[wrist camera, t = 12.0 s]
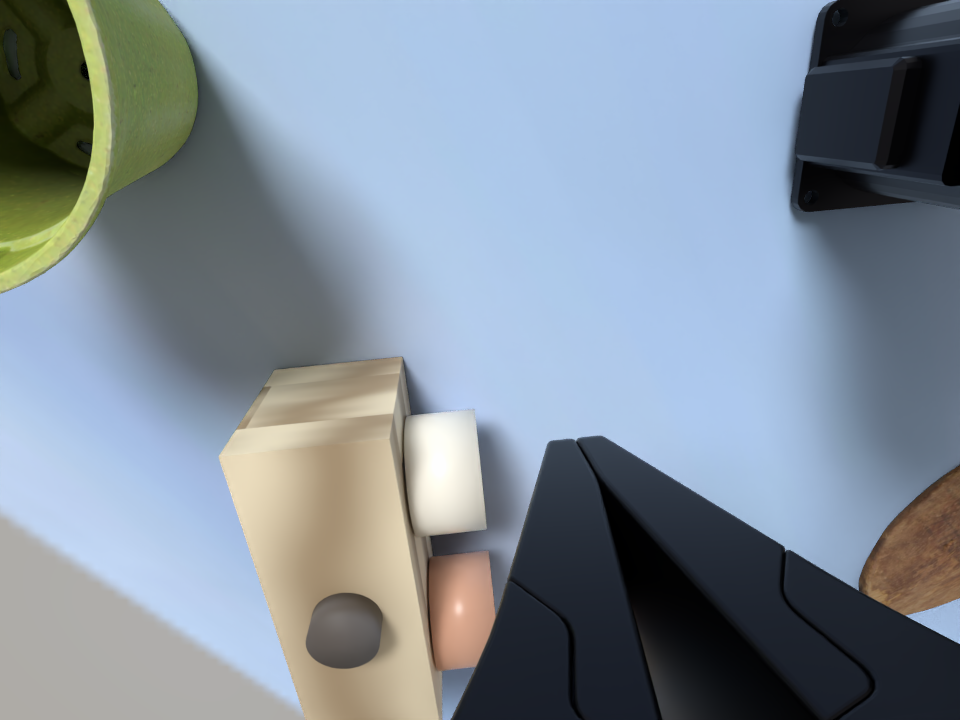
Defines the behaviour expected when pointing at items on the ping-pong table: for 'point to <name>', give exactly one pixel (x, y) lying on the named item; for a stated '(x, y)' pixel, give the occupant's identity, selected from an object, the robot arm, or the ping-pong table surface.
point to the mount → (338, 539)
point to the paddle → (919, 552)
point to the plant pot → (83, 118)
